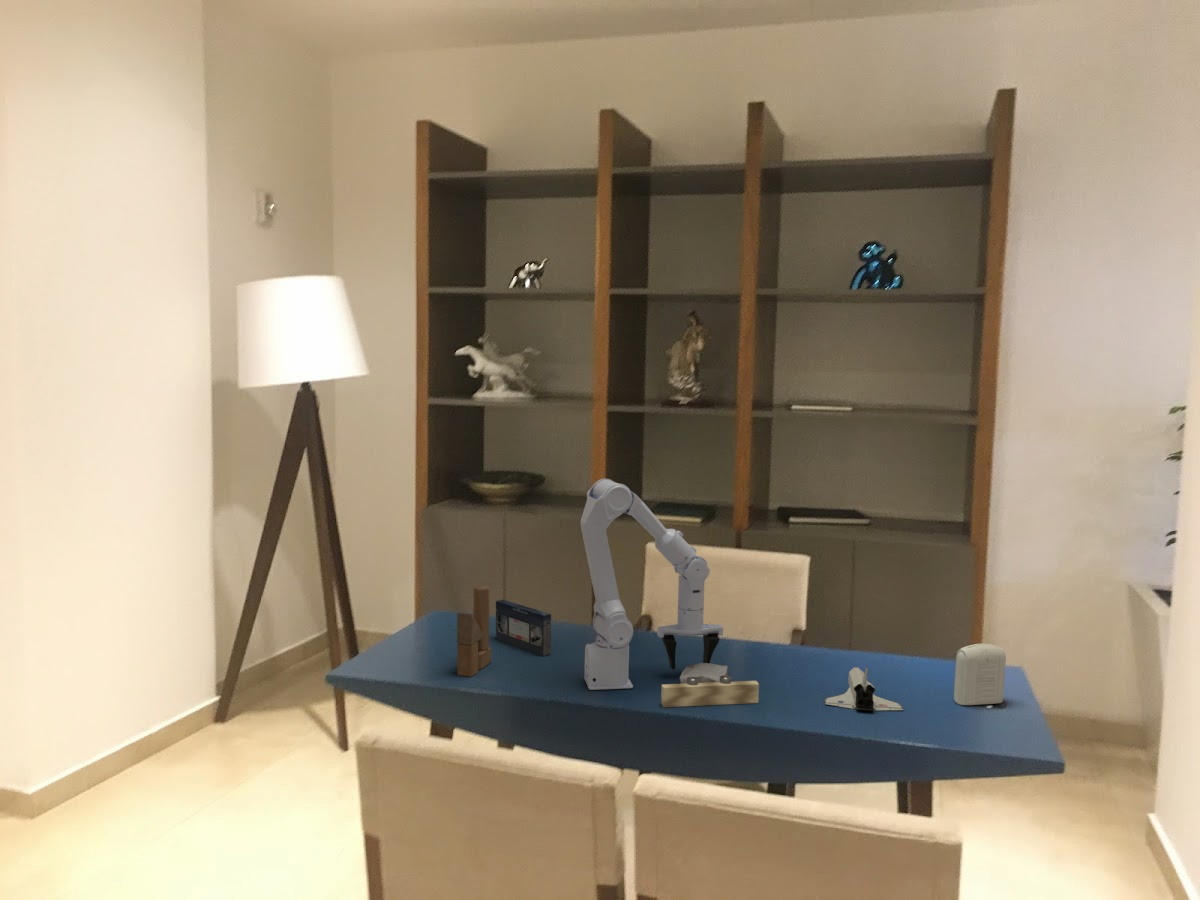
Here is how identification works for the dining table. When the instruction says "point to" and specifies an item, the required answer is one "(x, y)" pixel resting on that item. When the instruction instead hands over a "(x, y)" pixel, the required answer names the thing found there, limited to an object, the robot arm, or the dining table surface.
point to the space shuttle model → (861, 695)
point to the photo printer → (979, 675)
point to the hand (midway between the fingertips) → (689, 667)
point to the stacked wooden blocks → (474, 635)
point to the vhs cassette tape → (523, 627)
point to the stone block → (703, 672)
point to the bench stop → (709, 692)
